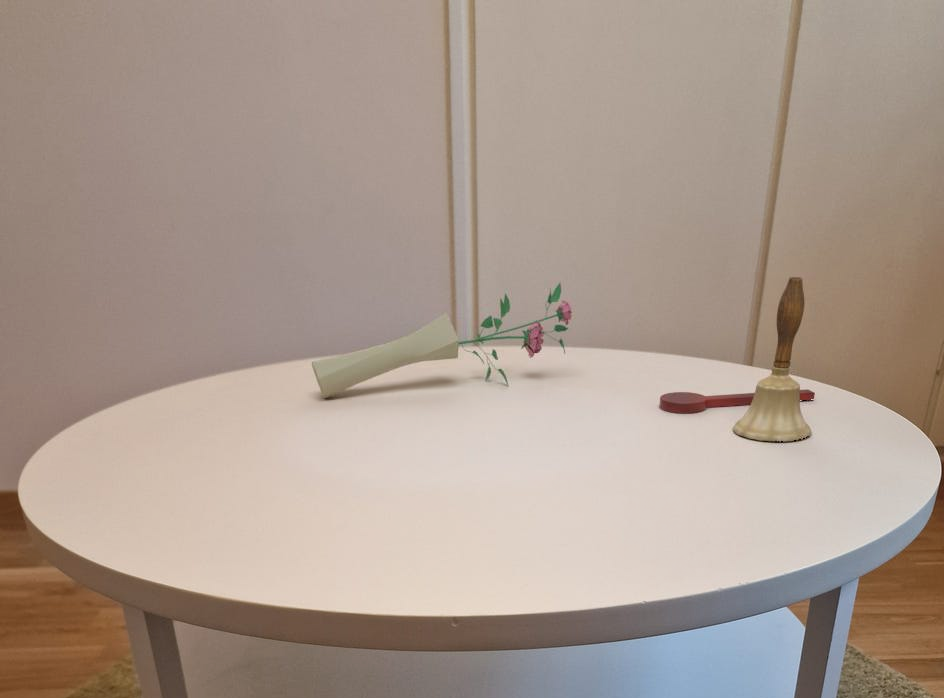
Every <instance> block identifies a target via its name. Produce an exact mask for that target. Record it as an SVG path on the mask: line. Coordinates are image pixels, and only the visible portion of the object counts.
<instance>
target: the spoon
mask: <svg viewBox="0 0 944 698" xmlns="http://www.w3.org/2000/svg"><path fill="white" fill-rule="evenodd" d="M754 394H755V392H747V393H732V394H717V395H714V394H713V395H704V394H701V393H697V392H688V391H674V392H668V393H664V394H661V396H659V408H660V409H661V411H664V412H668V413H673V414H697V413H701V412H704V411H705V410H706V409H707V408H708V409H709V407H710V408H720V407H721V406H725V407H736V406H735V405H740V406H750V405H751V403H752V400H753V397H754ZM815 394H816V393H815V392H814V391H812V390H810V389H800V393H799V396H800V400H811V399H814V400H815V396H816V395H815ZM749 404H750V405H749ZM721 408H722V407H721Z"/></svg>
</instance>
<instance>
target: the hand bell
mask: <svg viewBox="0 0 944 698" xmlns="http://www.w3.org/2000/svg"><path fill="white" fill-rule="evenodd" d="M804 311H805V293H804V286H803V278H802V277H798V276H793V277H792V276H791V277H789V278H788V281H787V284H786V287H785V289H784V290H783V292H782V294H781V297H780V299H779V302H778V305H777V312H776V332H777V344H776V350H775V356H774V360H773V366H772V368H771V373H770V375H768V376H767V377H765V378H762V379H760V380H759V381H757V383H756V386H755V391H754V393H755V394H754V397H753V400H752V403H751V405H749V407H748V409H747V411H746V412H745V414H744V415H743V416H742V417H741V418H740V419H738V420H737V421H736V422H735V424H734V425H733V426H732V427H733V428H732V431H733V432H734V433H735V434H736V435H738V436H741V437H744V438H747V439H750V440H756V441H763V442H765V441H766V442H775V441H777V443H778V441H779V443H780V442H781V441H783V442H794V440H796V441H800V440H799V439H801V440H804V439H803V438H805V439H807V438H808V437H807V436H809V435H810V434H811V435H812V429H811V427H810V425H809V424H808V423H807V422H806V421H805V419H804V417H803V414H802V409H801V401H800V396H799V393H800V390H801V384H800V383H799V382H798V381H797V380H795V379H793V378H792V377H790V373H789V372H790V366H791V360H792V352H793V351H792V350H793V345H794V340H795V338H796V335H797V333H798V331H799V329H800V327H801V324H802V321H803V316H804ZM811 435H810V436H811ZM810 436H809V437H810ZM806 437H807V438H806ZM781 443H782V442H781Z"/></svg>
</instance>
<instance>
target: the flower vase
mask: <svg viewBox="0 0 944 698" xmlns="http://www.w3.org/2000/svg"><path fill="white" fill-rule="evenodd" d="M561 293H562V285H561V281H560V282H558V284H557V285H556V287H555V288H554V290H553V293H552V291H551V287H549V293H548V297H547V301H546V303H545V305H547V304H549V305H548V306H547V307H545V309H546V311H545V315H547V314H548V310H549V308H550V306H551V305H552V303H558V302H559V300H560V297H561ZM499 303H500V305H499V306H500V318H497V317H493V315H489V316H488V317H486V318H485V319H484V320H483V321H482V322H481V324H480V327H482V329H481V331H480V333H477V334H476V335H477V338H475V339H470V340H461V341H460V340H459V337H458V335H457V333H456V330H455V327H454V326H453V324H452V321H451V319H450V317H449V313H448V312H447V311H446V312H445V313H443V314H441V315H440V316H438V317H437V318H435V319H433V320H432V321H430V322H429V323H427V324H426V325H424V326H422V327H420V328H419V329H418V330H416V331H414V332H412V333H410V334H409V333H408V334H407V335H405V336H402V337H400V338H398V339H395V340H393V341H389V342H386V343H382V344H378V345H375V346H372V347H368V348H364V349H360V350H355V351H351V352H348V353H345V354H340V355H336V356H332V357H327V358H323V359H318V360H314V361H311V366H312V370H313V373H314V377H315V379H316V381H317V384H318V387H319V391H320V392H321V395H322V397H323V399H327V398H329V397H332V396H334V395H336V394H339V393H341V392H343V391H345V390H347V389H350V388H352V387H354V386H356V385H358V384H360V383H364V382H366V381H368V380H371V379H374V378H376V377H378V376H381V375H383V374H387V373H390V372H391V371H394V370H396V369H399V368H402V367H405V366H409V365H412V364H417V363H422V362H433V361H441V360H442V361H443V360H455V359H459V346H460V345H461V347H462V348H463V350H464V351H466V352H468V353H471V354H474V355H476V356H477V357H478V358H479V359H480V361H481V362H482V363H483V365H485V362H484V360H483V358H482V357H481V356H480V355H479V353H478V352H477V351H476V350H473V351H470V350H468V351H467V350H466V349H465V348H464V346H463V345H464V344H465V345H466V344H472V343H473V344H474V345H475V346H477V347H478V348H479V349H480V350H481V352H483V353H484V355H485V356H486V360H488V361H489V362H488V361H486V363H487V366H488V367H487V372H486V376H485V382H486V381H488V379H489V378H490V376H491V374H492V369H491V366H492V367H493V368H494V369H495V370H496V371H498V372H499V374H501V376H502V377H503V379H504V381H505V383H506V385H507V386H509V383H508V379H507V376H506V374H505V372H504V370H503V369H502V368H498V369H497V368H496V367H495V366H494V365H493V363H492V362H491V360H490V358H489V357H488V355H490V356H492V357H493V359H494V360H497V361H499V357H498V354H497V351H496V349H494V348H493V349H492V352H491V353H488V352H486V353H485V351H484V350H483V349H482V348H481V347H480V346H479V345H478V344H477V343H481V344H483V345H484V344H485V343H484V342H486V341H493V340H494V341H495V340H506V339H523V344H522V346H521V348H520V350H522V349H523V348H524V349H525V350H526V352H527V354H528V357H529V359H531V358H533V357H534V356H535V354H539V353H540V351H541V350H542V349H543V347H542V345H543V344H544V342H545V341H544V339H543V337H544V335H546V336H548V337H549V338H550V339H553V340H555V341H557V342H558V343H559V344H560V346H561V347H562V349H563V354H564V355H566V350H565V349H566V348H565V343H564V340H563V339H562V338H560V339H559V340H558V339H555V337H553V336H550V335H549V334H547V332H545V331H544V327H543V326H542V324H541V323H540V322H543V321H546V320H549V319H553V318H555V317H557V318H558V323H560V322H564V323H565V325H563V324H555V325H554V329H553V330H550V333H553V332H554V331H555V332H556V333H561V332H566V331H567V330H569V327H567V325H569V323H570V321H571V320H572V317H573V315H572V314H573V312H572V307H571V305H570V303H568V301H566V300H565V299H564V300H562V301H561V303H560V305H558V306H557V309H555V312H556V314H553V315H550V316H546V317H543V318H541V319H538V320H537V319H535V320H533V321H532V322H529V323H526V324H522V325H519V326H516V327H512V328H509V329H505V330H501V331H499V329H500V328H501V326H502V325H503V321H502V319H503V318H504V317H505V316H506V314H508V313H510V310H511V303H510V299H509V297H508V295H507V293H506V292H504V298H503V299H502V298H501V297H500V300H499ZM493 327H494V328H495V332H494V333H491V334H488V335H483V336H481V335H482V332H483V331H484V329H491V328H493ZM524 327H528V328H527V330H521V331H522V333H523V335H504V336H502V335H501V334H505V333H508V332H511V331H515V330H518V329H522V328H524ZM497 335H501V336H497ZM487 354H488V355H487ZM490 364H491V366H490Z"/></svg>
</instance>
